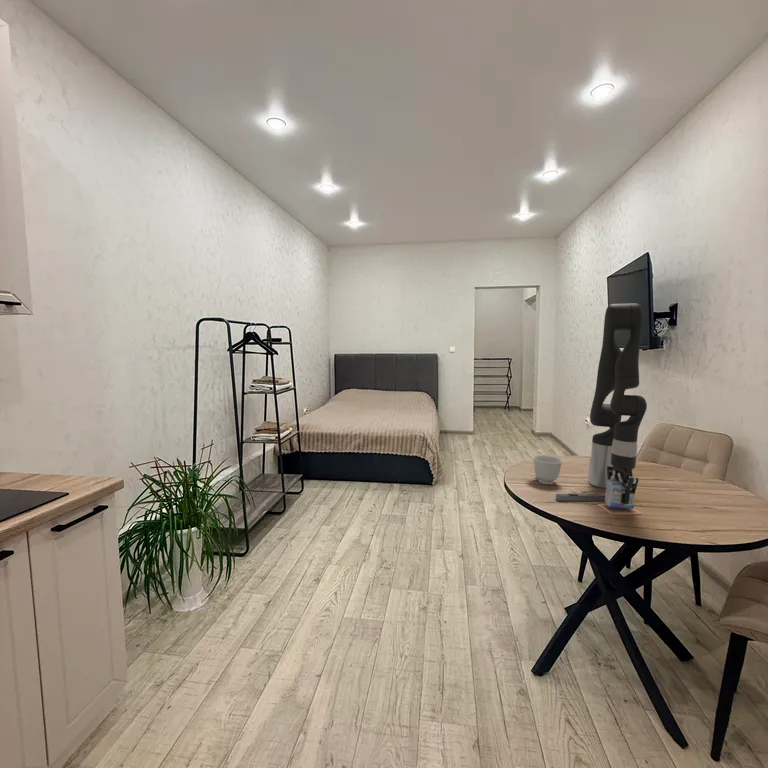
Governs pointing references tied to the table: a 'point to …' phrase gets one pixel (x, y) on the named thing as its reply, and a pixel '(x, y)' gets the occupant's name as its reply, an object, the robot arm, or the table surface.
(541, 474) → the teacup
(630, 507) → the medicine box
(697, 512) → the table surface
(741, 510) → the table surface
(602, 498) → the rail
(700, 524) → the table surface
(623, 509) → the pad
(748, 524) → the table surface
